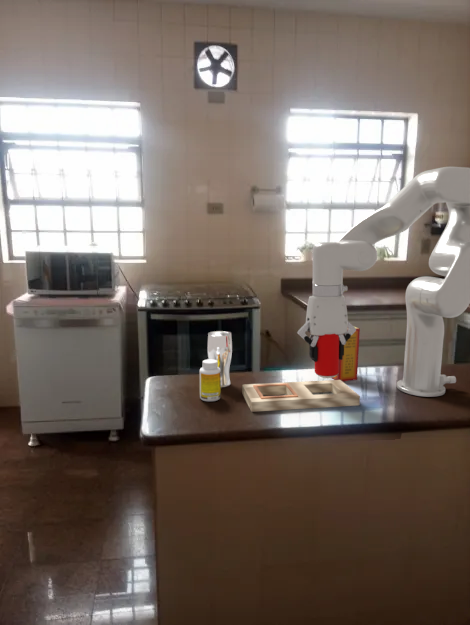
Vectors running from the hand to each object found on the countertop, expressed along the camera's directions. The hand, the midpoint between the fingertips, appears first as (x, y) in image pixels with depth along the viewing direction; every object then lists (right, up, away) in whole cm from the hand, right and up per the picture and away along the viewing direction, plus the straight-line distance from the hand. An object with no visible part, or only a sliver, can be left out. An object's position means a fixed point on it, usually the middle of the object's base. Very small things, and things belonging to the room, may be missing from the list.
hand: (326, 358), depth 119 cm
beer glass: (-28, -9, +12) cm, 32 cm away
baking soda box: (+8, -8, +20) cm, 23 cm away
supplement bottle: (-31, -11, +1) cm, 32 cm away
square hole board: (-7, -11, +1) cm, 13 cm away
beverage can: (0, -5, +1) cm, 5 cm away
